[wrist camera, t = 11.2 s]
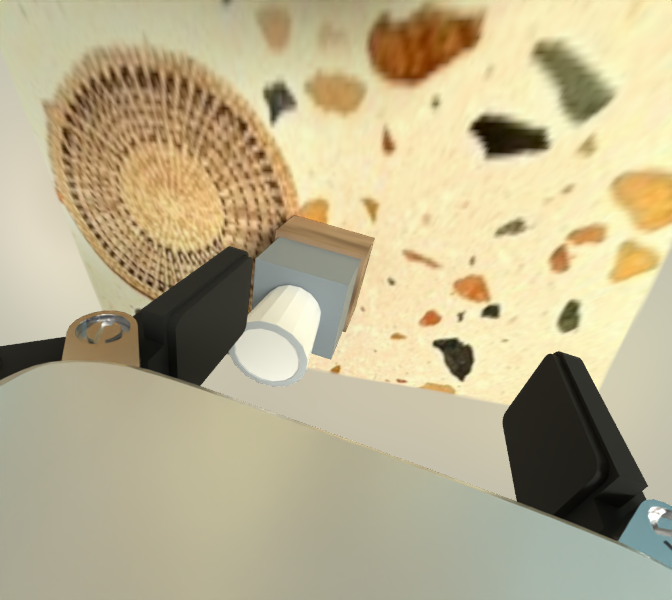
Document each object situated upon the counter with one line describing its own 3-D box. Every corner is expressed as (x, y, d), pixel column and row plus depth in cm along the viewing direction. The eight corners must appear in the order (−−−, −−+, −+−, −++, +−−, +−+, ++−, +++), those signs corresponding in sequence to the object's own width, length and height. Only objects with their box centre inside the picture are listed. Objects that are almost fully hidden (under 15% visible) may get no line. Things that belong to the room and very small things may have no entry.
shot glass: (324, 280, 32) (302, 324, 26) (329, 341, 36) (311, 391, 30) (253, 277, 34) (218, 318, 28) (265, 335, 37) (236, 383, 31)
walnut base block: (295, 214, 43) (275, 230, 38) (374, 237, 42) (365, 257, 37) (285, 284, 48) (267, 307, 43) (355, 306, 47) (345, 332, 42)
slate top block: (279, 236, 38) (255, 258, 33) (360, 259, 37) (348, 285, 32) (272, 305, 43) (250, 333, 38) (344, 327, 42) (330, 359, 37)
